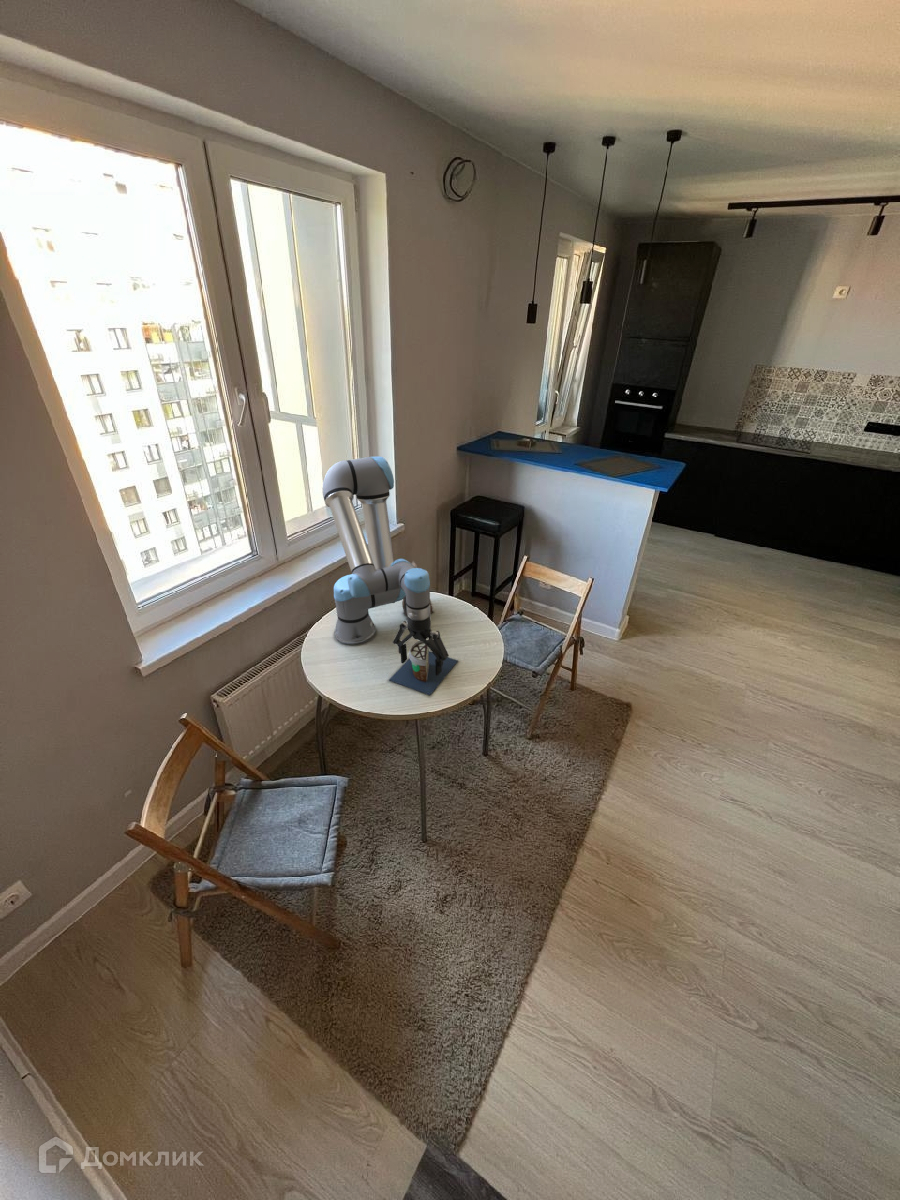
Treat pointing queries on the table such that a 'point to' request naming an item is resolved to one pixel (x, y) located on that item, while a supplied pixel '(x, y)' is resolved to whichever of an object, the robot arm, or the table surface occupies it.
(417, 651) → the food container
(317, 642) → the table surface
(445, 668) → the mat
